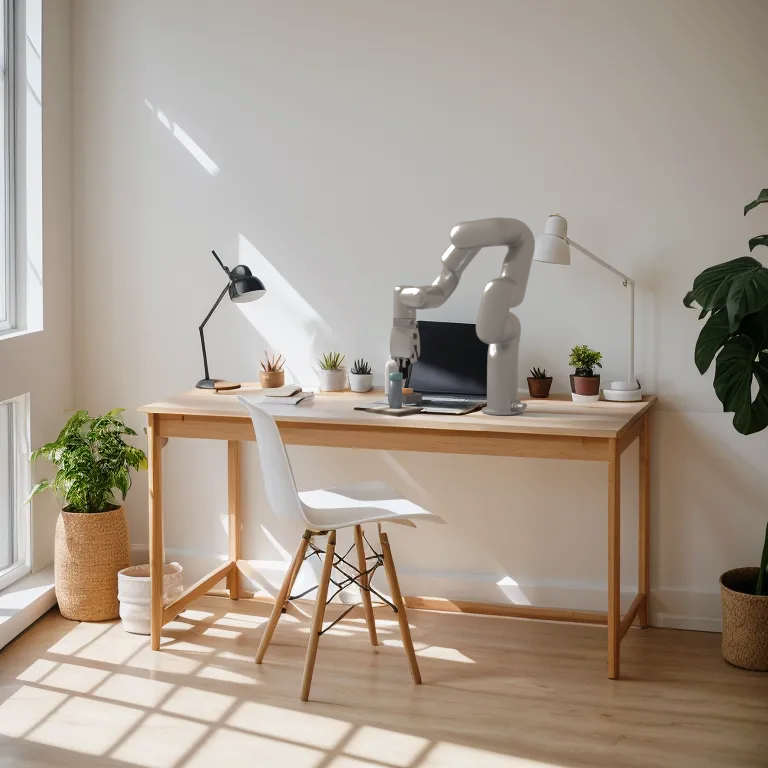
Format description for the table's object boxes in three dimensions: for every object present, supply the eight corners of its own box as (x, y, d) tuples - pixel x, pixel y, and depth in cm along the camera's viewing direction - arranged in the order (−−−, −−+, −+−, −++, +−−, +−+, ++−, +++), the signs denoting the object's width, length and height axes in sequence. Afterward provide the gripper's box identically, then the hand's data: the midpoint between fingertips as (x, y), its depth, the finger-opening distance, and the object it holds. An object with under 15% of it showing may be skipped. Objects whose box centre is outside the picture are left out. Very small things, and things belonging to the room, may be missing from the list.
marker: (405, 407, 314) (405, 373, 313) (396, 409, 311) (396, 374, 310) (395, 406, 317) (395, 372, 315) (386, 407, 314) (386, 373, 312)
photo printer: (410, 392, 356) (410, 358, 355) (414, 394, 352) (414, 359, 351) (383, 394, 353) (383, 359, 351) (387, 395, 349) (387, 360, 347)
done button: (415, 396, 329) (415, 388, 328) (405, 397, 325) (405, 390, 325) (404, 394, 332) (404, 387, 332) (394, 396, 328) (394, 388, 328)
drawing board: (425, 411, 314) (425, 407, 314) (397, 416, 305) (397, 412, 304) (393, 406, 324) (393, 403, 323) (365, 411, 314) (365, 407, 314)
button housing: (422, 404, 329) (422, 393, 328) (405, 406, 323) (405, 396, 323) (404, 401, 334) (404, 391, 334) (388, 404, 329) (388, 394, 328)
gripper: (429, 324, 323) (428, 380, 326) (395, 321, 333) (395, 375, 336) (413, 325, 318) (412, 382, 320) (380, 322, 328) (379, 377, 331)
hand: (403, 378), depth 328 cm, fingers closed
